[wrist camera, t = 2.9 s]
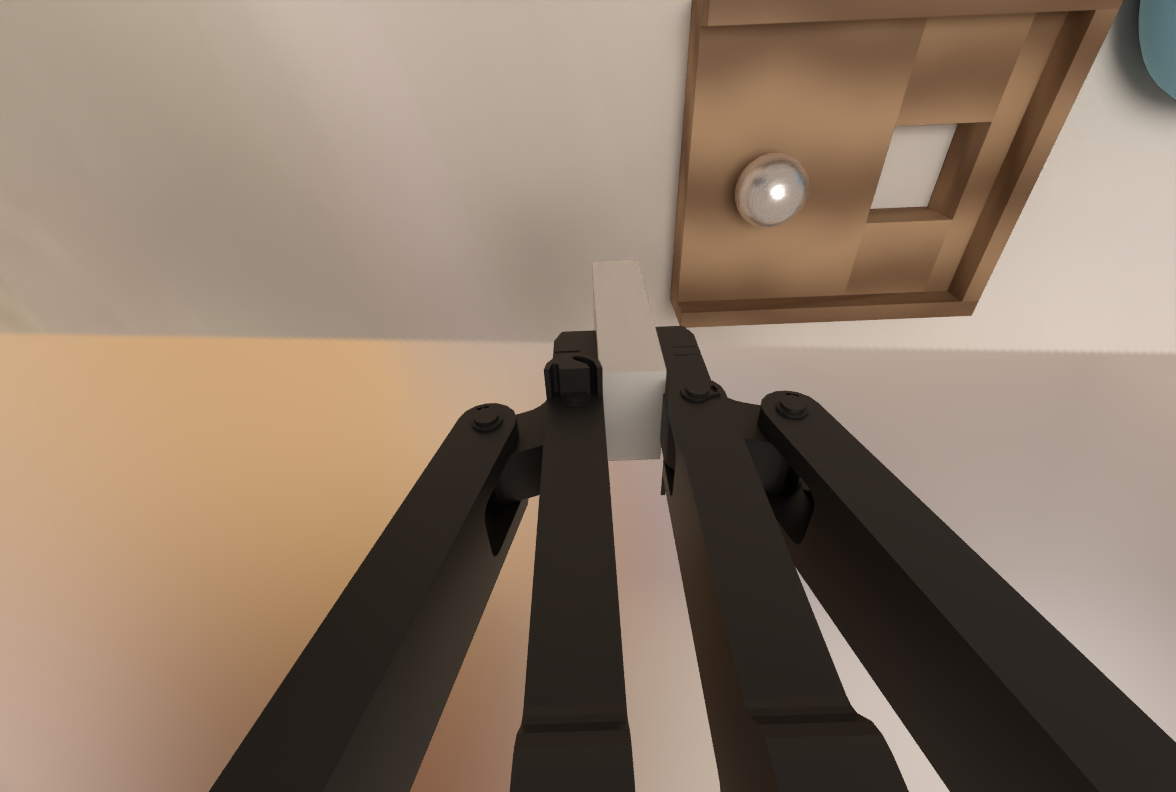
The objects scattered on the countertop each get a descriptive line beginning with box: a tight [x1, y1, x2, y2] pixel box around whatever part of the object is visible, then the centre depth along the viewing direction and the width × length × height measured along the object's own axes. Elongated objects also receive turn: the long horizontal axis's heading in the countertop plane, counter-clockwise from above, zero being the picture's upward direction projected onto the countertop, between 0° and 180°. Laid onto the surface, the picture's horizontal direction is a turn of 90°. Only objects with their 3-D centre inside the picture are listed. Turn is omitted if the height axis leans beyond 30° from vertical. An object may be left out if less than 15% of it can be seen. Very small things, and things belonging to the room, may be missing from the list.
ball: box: [735, 153, 809, 228], centre depth 26 cm, size 4×4×4 cm
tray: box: [671, 0, 1123, 328], centre depth 28 cm, size 16×18×4 cm
